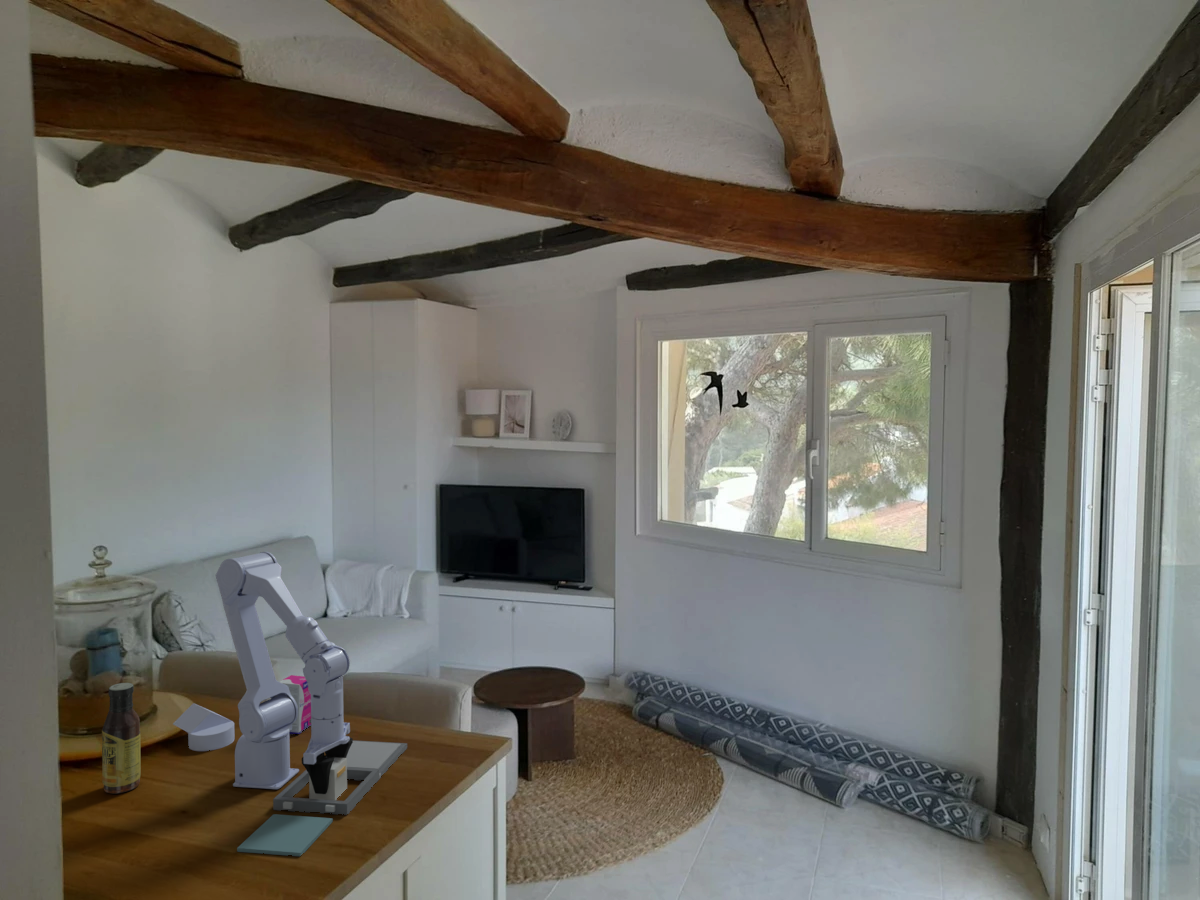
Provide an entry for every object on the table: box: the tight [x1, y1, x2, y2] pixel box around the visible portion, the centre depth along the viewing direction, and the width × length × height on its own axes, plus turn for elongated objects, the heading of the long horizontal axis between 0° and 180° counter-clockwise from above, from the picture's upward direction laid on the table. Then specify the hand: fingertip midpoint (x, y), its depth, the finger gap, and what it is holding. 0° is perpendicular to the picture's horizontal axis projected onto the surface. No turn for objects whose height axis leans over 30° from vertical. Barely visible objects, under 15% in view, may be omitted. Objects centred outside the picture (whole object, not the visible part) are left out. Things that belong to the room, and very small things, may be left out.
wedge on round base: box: [172, 703, 236, 752], centre depth 173 cm, size 9×7×13 cm
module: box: [308, 757, 348, 801], centre depth 148 cm, size 5×5×6 cm
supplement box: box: [278, 674, 311, 735], centre depth 178 cm, size 6×6×12 cm
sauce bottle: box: [101, 682, 142, 795], centre depth 150 cm, size 7×6×20 cm
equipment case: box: [272, 739, 408, 816], centre depth 155 cm, size 14×29×2 cm, turn 172°
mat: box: [236, 813, 334, 857], centre depth 133 cm, size 11×11×1 cm
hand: (328, 785), depth 148 cm, fingers open, 5 cm apart
